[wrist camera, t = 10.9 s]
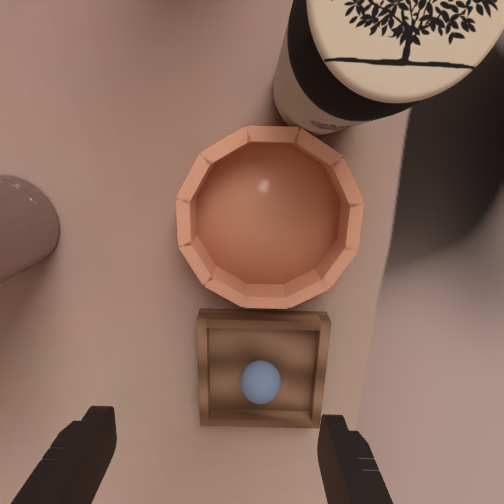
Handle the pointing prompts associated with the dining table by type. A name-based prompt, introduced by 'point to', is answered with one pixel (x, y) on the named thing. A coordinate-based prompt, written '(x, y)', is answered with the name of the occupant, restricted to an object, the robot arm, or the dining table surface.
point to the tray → (267, 349)
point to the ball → (260, 382)
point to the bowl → (269, 217)
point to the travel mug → (376, 56)
